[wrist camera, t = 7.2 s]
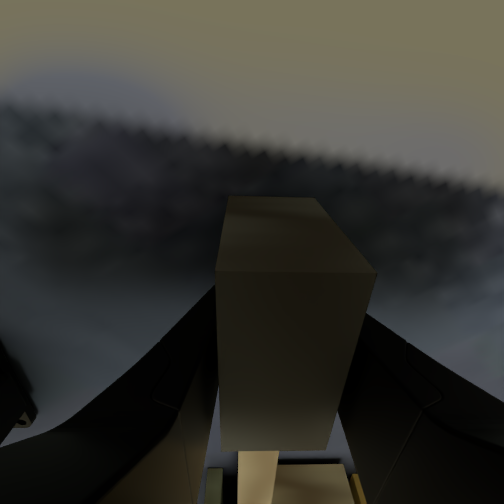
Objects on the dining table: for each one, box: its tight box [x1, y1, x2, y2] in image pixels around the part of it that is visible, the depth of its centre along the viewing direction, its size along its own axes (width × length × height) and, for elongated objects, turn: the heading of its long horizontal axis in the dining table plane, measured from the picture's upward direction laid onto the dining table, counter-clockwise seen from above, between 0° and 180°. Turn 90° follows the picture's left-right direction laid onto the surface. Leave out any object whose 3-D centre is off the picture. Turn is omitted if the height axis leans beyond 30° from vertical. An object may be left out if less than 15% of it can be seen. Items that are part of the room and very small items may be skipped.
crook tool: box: [215, 196, 377, 504], centre depth 12 cm, size 8×20×5 cm, turn 178°
